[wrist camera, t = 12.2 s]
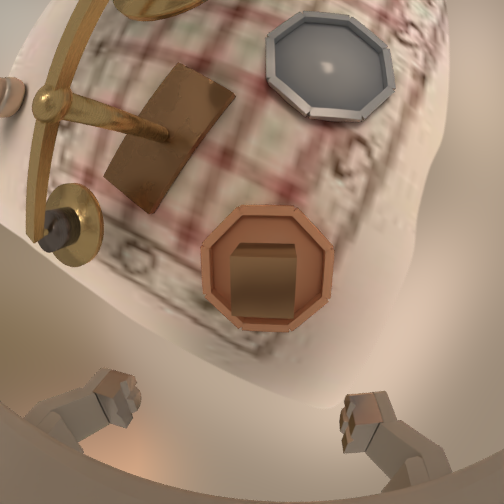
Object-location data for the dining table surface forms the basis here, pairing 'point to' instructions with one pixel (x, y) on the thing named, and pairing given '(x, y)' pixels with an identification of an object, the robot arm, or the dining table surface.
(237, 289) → the walnut block
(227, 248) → the terracotta dish
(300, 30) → the slate dish
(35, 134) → the brass balance
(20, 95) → the plastic bottle
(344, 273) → the dining table surface
